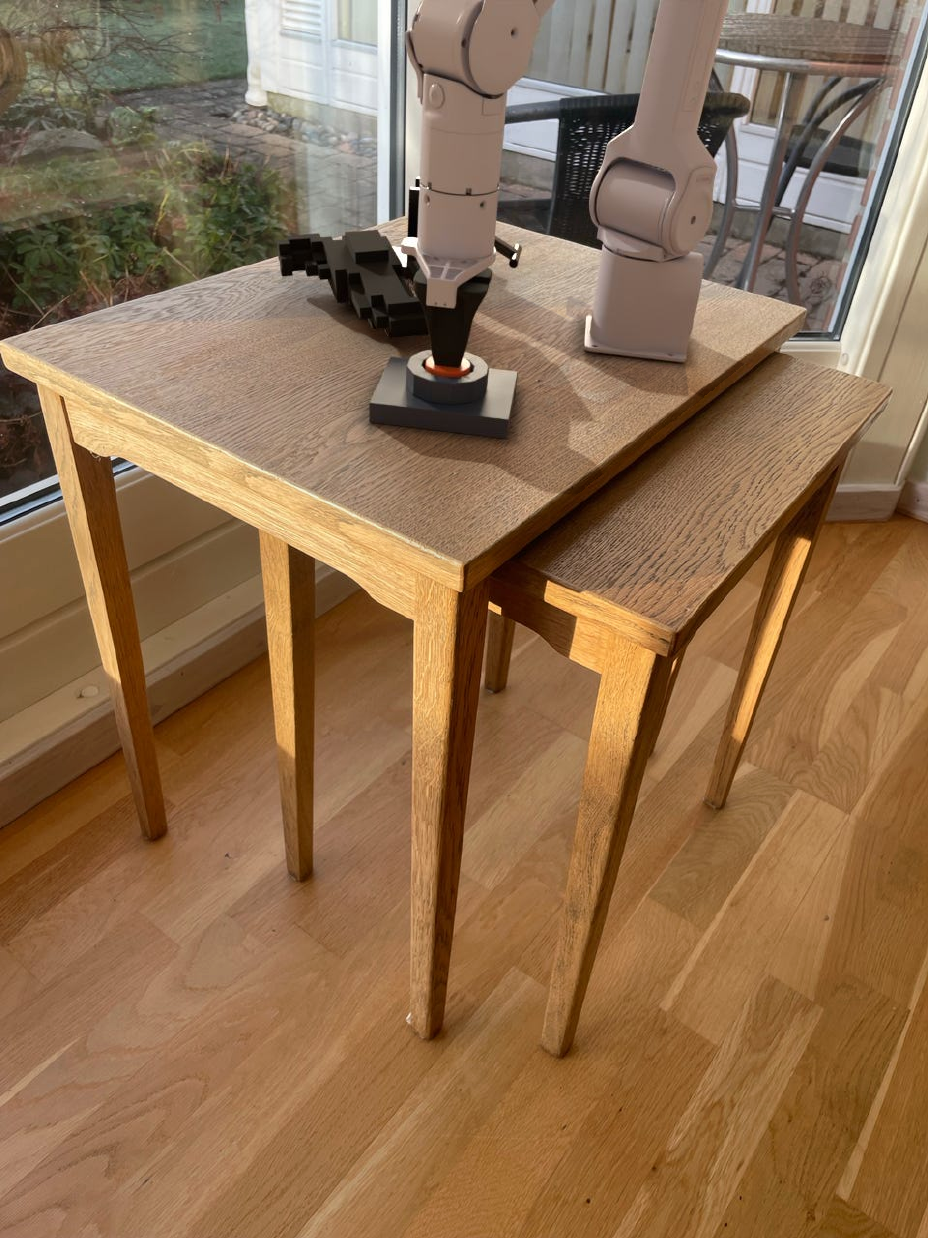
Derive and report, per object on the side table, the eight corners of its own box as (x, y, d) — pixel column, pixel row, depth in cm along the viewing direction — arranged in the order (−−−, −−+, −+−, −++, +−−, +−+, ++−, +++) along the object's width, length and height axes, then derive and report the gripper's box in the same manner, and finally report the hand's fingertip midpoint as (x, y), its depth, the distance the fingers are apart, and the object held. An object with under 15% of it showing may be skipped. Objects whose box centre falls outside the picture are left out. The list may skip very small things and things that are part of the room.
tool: (302, 305, 83) (473, 289, 86) (273, 221, 98) (420, 211, 101) (308, 363, 87) (472, 346, 90) (279, 274, 102) (420, 262, 105)
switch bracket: (479, 266, 108) (486, 182, 102) (472, 285, 103) (479, 198, 98) (389, 256, 108) (391, 171, 103) (378, 275, 104) (380, 187, 98)
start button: (471, 376, 81) (473, 356, 80) (466, 395, 79) (467, 374, 78) (428, 371, 82) (429, 351, 81) (421, 389, 79) (422, 369, 78)
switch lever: (515, 260, 107) (527, 241, 105) (511, 276, 103) (523, 256, 101) (419, 199, 104) (430, 178, 102) (412, 212, 100) (423, 191, 99)
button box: (516, 389, 85) (520, 351, 82) (506, 439, 78) (511, 398, 75) (389, 374, 85) (390, 335, 83) (369, 422, 78) (369, 381, 76)
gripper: (420, 153, 76) (413, 322, 85) (385, 206, 65) (381, 396, 74) (510, 163, 76) (494, 332, 85) (491, 218, 65) (475, 407, 73)
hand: (448, 363), depth 79 cm, fingers closed, pressing on start button
